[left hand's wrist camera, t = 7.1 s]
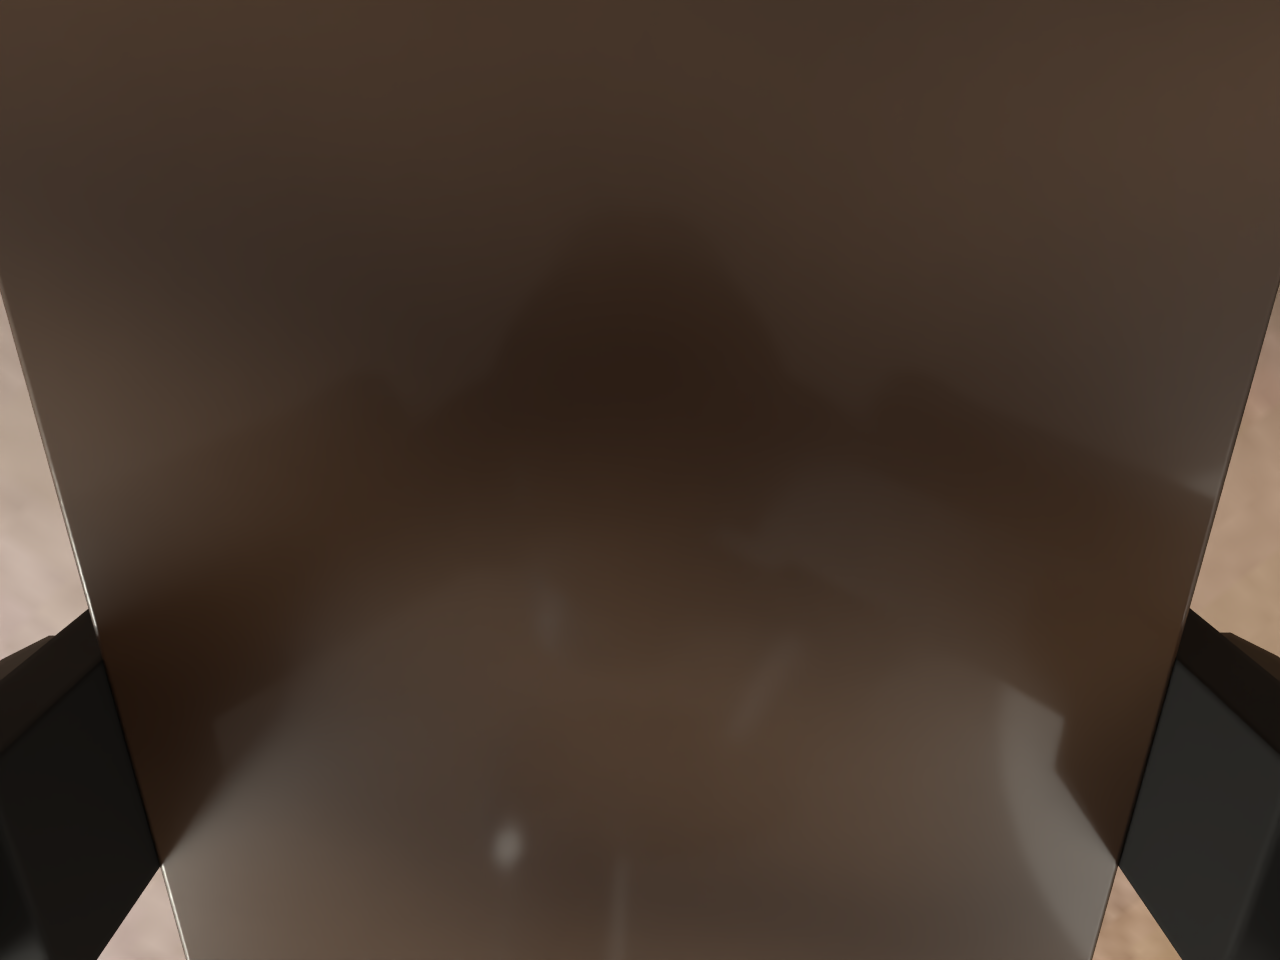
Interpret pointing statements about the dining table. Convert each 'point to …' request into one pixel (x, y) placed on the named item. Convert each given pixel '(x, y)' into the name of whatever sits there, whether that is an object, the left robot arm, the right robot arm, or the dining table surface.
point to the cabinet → (639, 450)
